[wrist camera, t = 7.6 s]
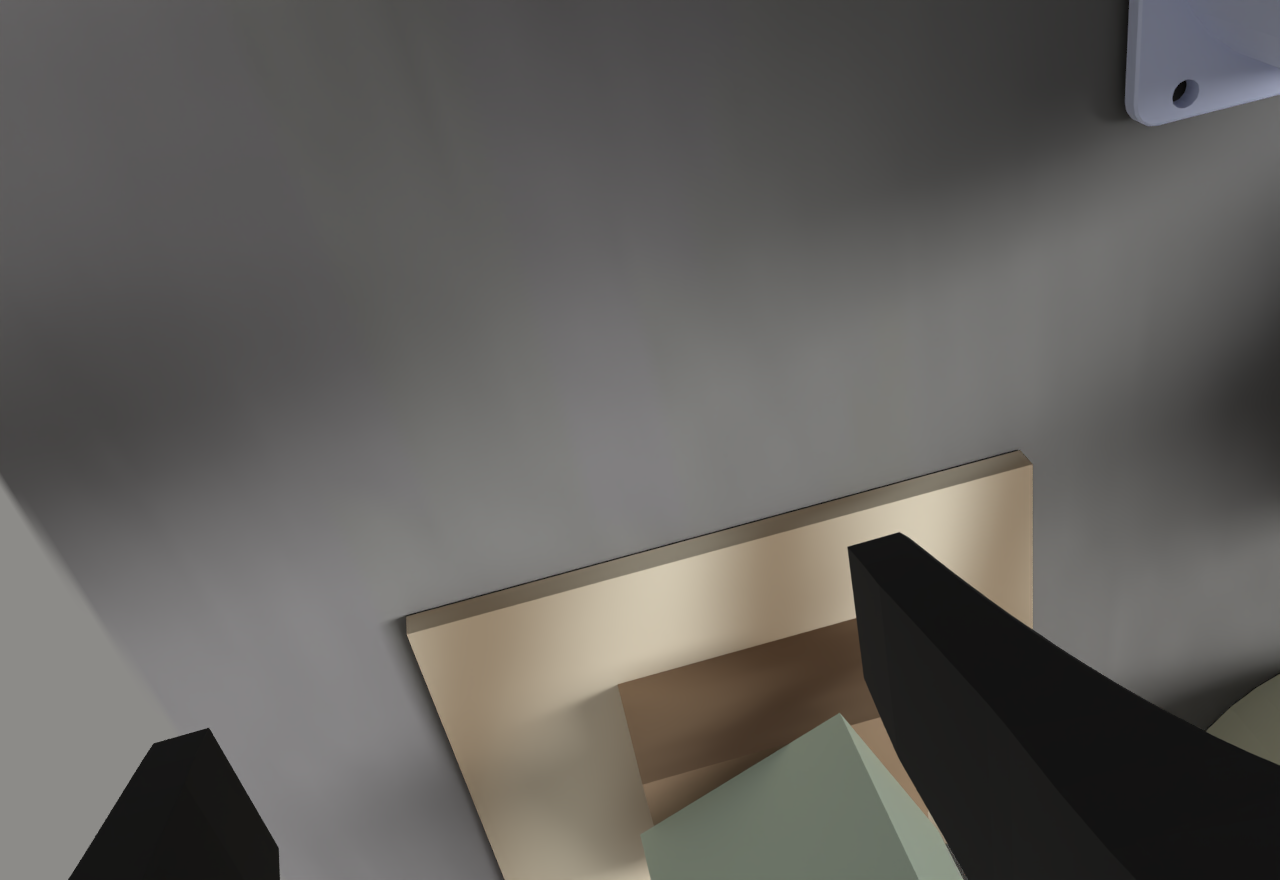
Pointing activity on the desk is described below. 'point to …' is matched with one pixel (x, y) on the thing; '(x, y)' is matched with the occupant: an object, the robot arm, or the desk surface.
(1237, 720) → the reusable coffee cup
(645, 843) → the sage cube
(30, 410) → the desk surface
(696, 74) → the desk surface
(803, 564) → the baseplate
